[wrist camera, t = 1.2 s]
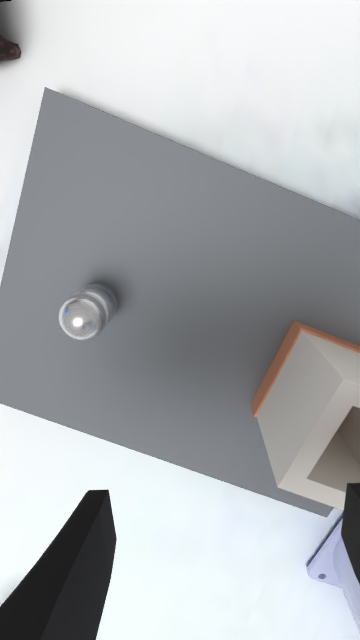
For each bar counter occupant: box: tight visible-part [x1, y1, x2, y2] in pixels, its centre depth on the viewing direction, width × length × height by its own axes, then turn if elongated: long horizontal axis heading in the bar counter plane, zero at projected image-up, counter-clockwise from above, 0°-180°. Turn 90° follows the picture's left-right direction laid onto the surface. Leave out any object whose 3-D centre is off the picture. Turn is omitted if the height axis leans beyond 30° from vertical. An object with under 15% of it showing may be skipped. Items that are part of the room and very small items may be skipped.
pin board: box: [0, 87, 360, 517], centre depth 19 cm, size 22×16×2 cm
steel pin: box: [58, 284, 117, 341], centre depth 16 cm, size 2×2×4 cm
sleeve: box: [250, 320, 360, 511], centre depth 15 cm, size 5×5×6 cm
